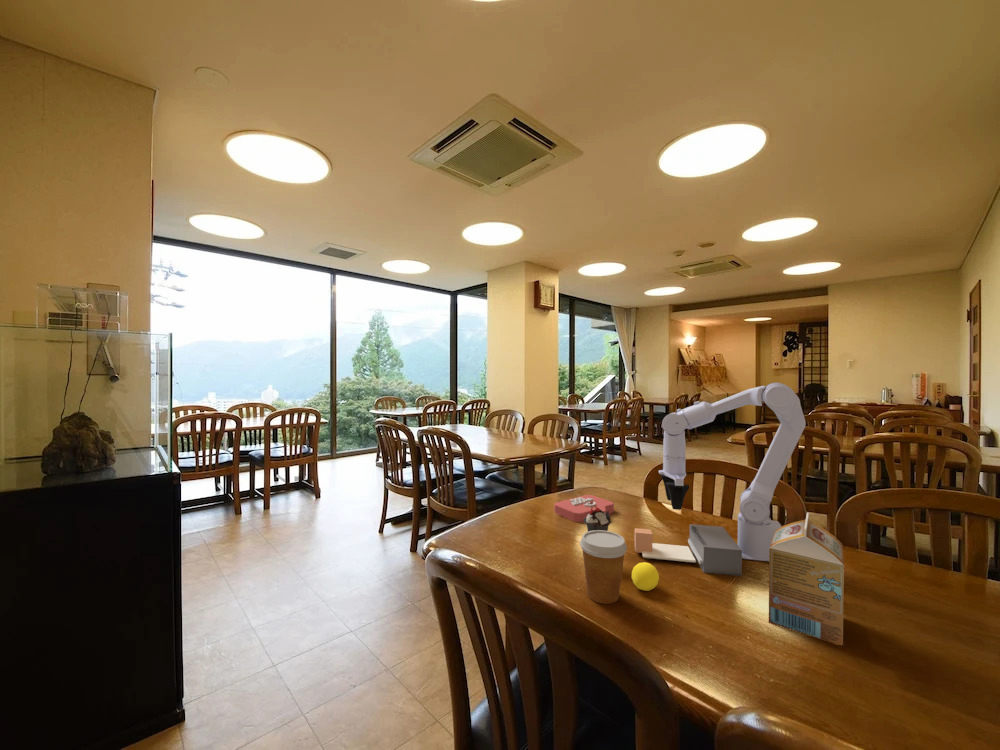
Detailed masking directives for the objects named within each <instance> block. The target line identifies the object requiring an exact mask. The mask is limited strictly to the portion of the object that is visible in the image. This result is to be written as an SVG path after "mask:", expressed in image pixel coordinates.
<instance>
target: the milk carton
mask: <svg viewBox="0 0 1000 750" xmlns="http://www.w3.org/2000/svg"><path fill="white" fill-rule="evenodd" d="M809 514H810V513H809V512H806V516H805V519H803V520H802V519H801V520H798V521H793V522H791V523H788V524H785V525H781V527H780V528H779V529H777V530H775V533H774V536H773V539H772V542H771V545H770V548H769V561H768V563H769V564H768V569H769V570H768V623H769V624H770V625H771V624H772V625H774V624H775V626H777V625H778V627H780V626H782V627H781V628H783V627H784V628H783V629H786V628H787V629H786V630H789V629H791V630H790V631H792V630H794V631H793V632H795V631H797V632H796V633H798V632H801V633H804V634H807V635H810V636H813V637H816V638H818V639H817V640H819V639H821V640H820V641H822V640H825V641H828V642H833V643H836V644H840V645H843V646H844V592H845V591H844V589H845V588H844V587H845V586H844V585H845V583H844V582H845V581H844V580H845V576H844V575H845V573H844V570H845V563H844V549H843V548H844V545H843V543H842V542H840V540H838V539H837V537H835V536H834V535H833V534H832V533H830V532H829V531H827V530H826V529H824V528H823V527H822V526H821V525H818V524H817V523H815V522H813V521H812V520H811V519H809V518H810V517H809V516H810V515H809ZM801 633H800V634H801ZM804 634H803V635H804ZM807 635H806V636H807ZM810 636H809V637H810ZM813 637H812V638H813ZM816 638H815V639H816ZM825 641H824V642H825ZM828 642H827V643H828Z"/></svg>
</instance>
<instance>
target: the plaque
mask: <svg viewBox="0 0 1000 750" xmlns="http://www.w3.org/2000/svg"><path fill="white" fill-rule="evenodd" d="M590 502H593V504H594V505H595V506H596V507H597V508H599V509H600V510H602V511H603V512H604V513H606V512H607V511H609V514H610V515H611V514H612V513H614V512H615V509H614V508H615V503H614V502H613V501H610V500H608V499H605V498H601V497H599V496H596V495H593V494H585V495H581V496H576V497H573V498H572V497H571V498H569V499H566V500H561V501H558V502H557V501H556V502H555V503H554V509H553V511H554V512H555V513H554V512H553V513H554V514H556V513H557V514H556V515H558V514H559V515H558V516H560V515H561V517H562V516H563V517H562V518H565V519H567V518H568V520H569V519H570V521H572V522H574V521H575V523H584V518H585V517H587V516H588V515H589V514H590V510H591V508H592V510H595V509H596V507H595V506H594V505H593V504H590Z"/></svg>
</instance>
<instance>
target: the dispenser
mask: <svg viewBox="0 0 1000 750" xmlns="http://www.w3.org/2000/svg"><path fill="white" fill-rule="evenodd" d="M687 542H688V545H689V549H690V551H691V553H692V554H693V556H694V558H695V560H696V562H697V563H698V564H699V565H698V566H699V567H700V569H701V570H702V572H703V573H707V574H713V573H714V575H716V574H717V575H723V574H726V575H725V576H733V575H735V577H742V576H743V575H742V571H743V570H742V569H743V566H742V565H743V559H742V550H741V549H740V547H739V546H738V545H737V544H738V543H736V541H735V540H734V539H733V538H732V536H731V535H730V534H729V533H728V531H727V530H726V529H725V527H724V526H717V525H704V524H703V525H701V524H694V523H693V524H689V538H688V539H687Z"/></svg>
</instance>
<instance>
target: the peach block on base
mask: <svg viewBox="0 0 1000 750" xmlns="http://www.w3.org/2000/svg"><path fill="white" fill-rule="evenodd" d="M634 551H635V553H639V554H642V558H643V559H645V558H646V559H655V560H667V561H676V562H685V563H697V560H696V558H695V556H694V554H693V552H692V550H691V548H690V546H688V545H678V544H677V545H676V544H670V543H669V544H668V543H667V544H665V543H656V542H653V532H652V529H650V528H649V529H647V528H637V527H635V528H634Z"/></svg>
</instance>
